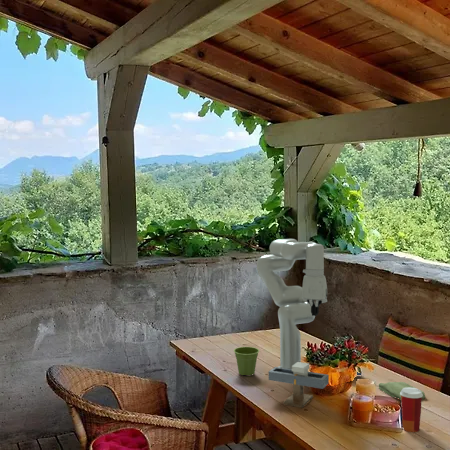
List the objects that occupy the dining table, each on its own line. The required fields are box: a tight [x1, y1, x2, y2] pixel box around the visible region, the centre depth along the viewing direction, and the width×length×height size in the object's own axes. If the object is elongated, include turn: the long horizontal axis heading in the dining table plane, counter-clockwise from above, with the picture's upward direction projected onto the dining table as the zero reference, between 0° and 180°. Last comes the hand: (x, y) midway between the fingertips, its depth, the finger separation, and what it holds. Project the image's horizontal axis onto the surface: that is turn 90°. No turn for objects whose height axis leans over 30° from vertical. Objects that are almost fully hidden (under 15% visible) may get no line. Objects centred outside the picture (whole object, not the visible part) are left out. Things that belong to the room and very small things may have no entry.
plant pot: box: [233, 346, 260, 376], centre depth 266 cm, size 12×12×11 cm
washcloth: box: [378, 381, 426, 400], centre depth 240 cm, size 13×18×3 cm
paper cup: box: [400, 387, 423, 433], centre depth 204 cm, size 8×8×14 cm
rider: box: [292, 362, 310, 376], centre depth 231 cm, size 5×6×5 cm
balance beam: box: [268, 366, 330, 409], centre depth 232 cm, size 23×12×12 cm, turn 62°
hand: (314, 315), depth 248 cm, fingers closed
